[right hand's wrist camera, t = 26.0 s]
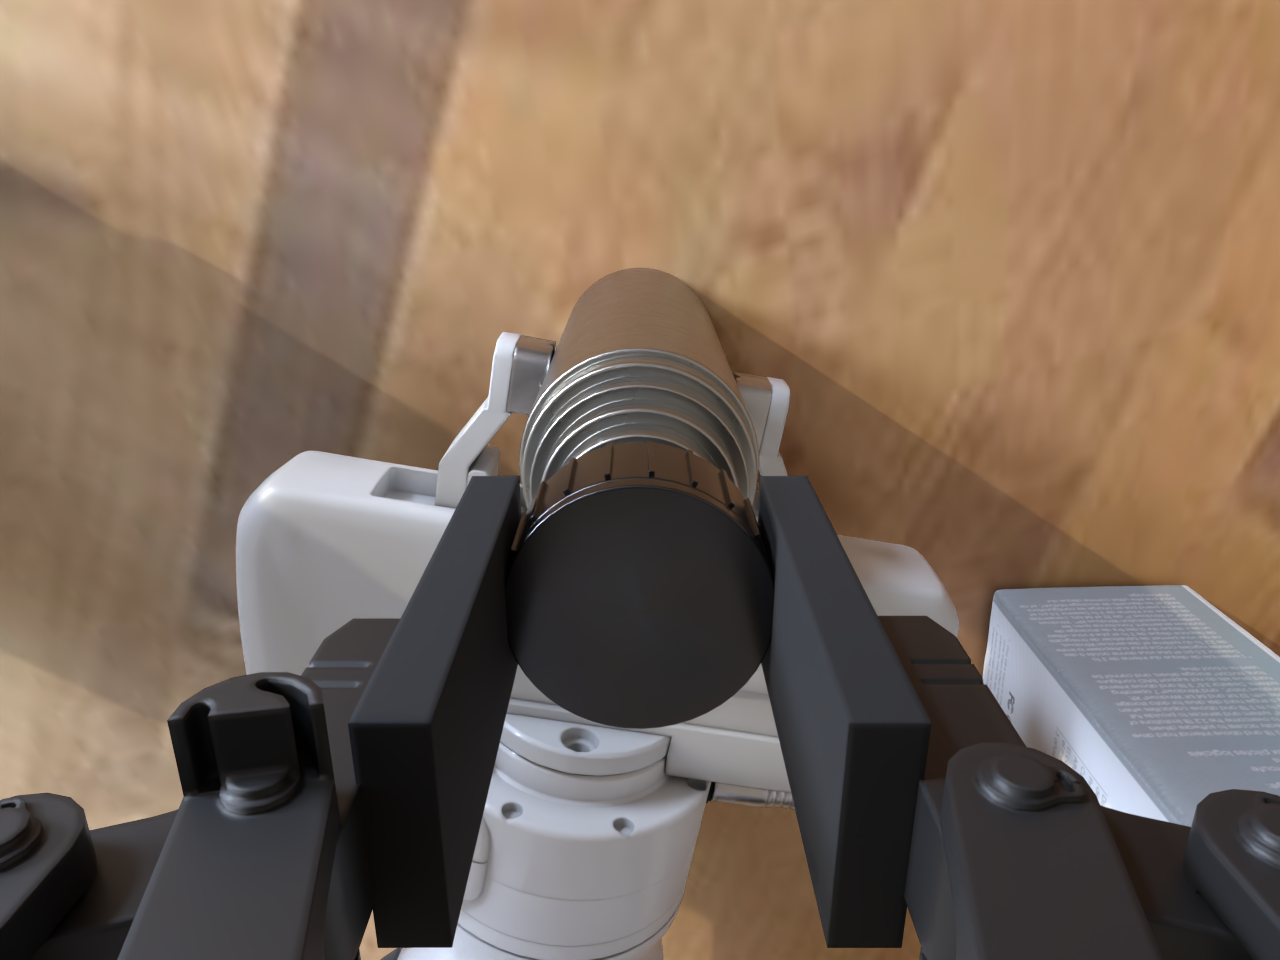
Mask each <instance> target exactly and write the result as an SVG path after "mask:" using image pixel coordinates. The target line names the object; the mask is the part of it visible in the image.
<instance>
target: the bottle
mask: <svg viewBox="0 0 1280 960" xmlns="http://www.w3.org/2000/svg"><path fill="white" fill-rule="evenodd" d="M648 440H649V441H653V443H657V444H662V445H668V446H672V447H676V448H679V449H682V450H685V451H687V450H688V449H689V450H692V451H693V454H694V455H697V456H699V457H701V458H703V459H704V460H706V461H707V462H709V463H711V464H712V465H714V466H715V467H716V468H718V469H719V470H720V471H721V470H722V469H724V470H725V471H726V472H727V476H728V478H729V479H730V480H731V481H732V482H733V483H734V484H735V485H736V487H737V488H738V489H739V491H740V492H741V493H742V495H743V496H744V498H745V499H746V498H749V499H750V501H751V504H752V505H753V501H754V497H755V493H756V486H757V480H758V473H759V447H758V442H757V436H756V432H755V429H754V426H753V423H752V420H751V418H750V415H749V413H748V410H747V408H746V405H745V403H744V400H743V398H742V395H741V393H740V390H739V388H738V385H737V383H736V381H735V378H734V376H733V373H732V371H731V368H730V366H729V363H728V361H727V358H726V356H725V353H724V351H723V348H722V346H721V344H720V341H719V339H718V336H717V334H716V331H715V329H714V326H713V324H712V321H711V319H710V316H709V314H708V312H707V310H706V308H705V306H704V304H703V303H702V301H701V300H700V298H699V297H698V296H697V294H696V293H695V292H694V291H693V290H692V289H691V288H690V287H689V286H688V285H686V284H685V283H684V282H682V281H681V280H679V279H678V278H676V277H674V276H672V275H670V274H668V273H665V272H662V271H659V270H654V269H648V268H632V269H625V270H621V271H617V272H614V273H612V274H609V275H607V276H605V277H603V278H601V279H600V280H598V281H597V282H595V283H594V284H593V285H591V286H590V287H589V288H588V289H587V290H586V291H585V292H584V293H583V295H582V296H581V297H580V298H579V300H578V301H577V303H576V305H575V306H574V308H573V310H572V312H571V315H570V317H569V319H568V322H567V324H566V327H565V329H564V332H563V334H562V337H561V339H560V341H559V344H558V346H557V349H556V351H555V354H554V356H553V359H552V361H551V364H550V366H549V368H548V371H547V373H546V376H545V378H544V381H543V383H542V386H541V388H540V391H539V393H538V395H537V398H536V400H535V403H534V405H533V408H532V410H531V413H530V415H529V418H528V420H527V422H526V425H525V429H524V432H523V436H522V440H521V448H520V473H521V481H522V487H523V494H524V497H525V501H526V504H527V508H529V506H530V504H531V502H532V500H533V499H534V497H535V496H536V494H537V493H538V489H539V486H540V484H541V482H542V481H544V482H545V483H546V482H547V481H548V479H549V478H550V477H552V476H553V475H554V474H555V473H556V472H557V471H558V470H560V469H561V468H562V467H564V466H565V465H567V464H568V463H569V460H570V459H571V458H573V457H575V459H576V458H578V457H580V456H582V455H584V454H586V453H588V452H591V451H594V450H597V449H600V448H603V447H606V446H607V444H609V443H612V444H613V445H616V444H621V443H634V442H643V443H648Z"/></svg>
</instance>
